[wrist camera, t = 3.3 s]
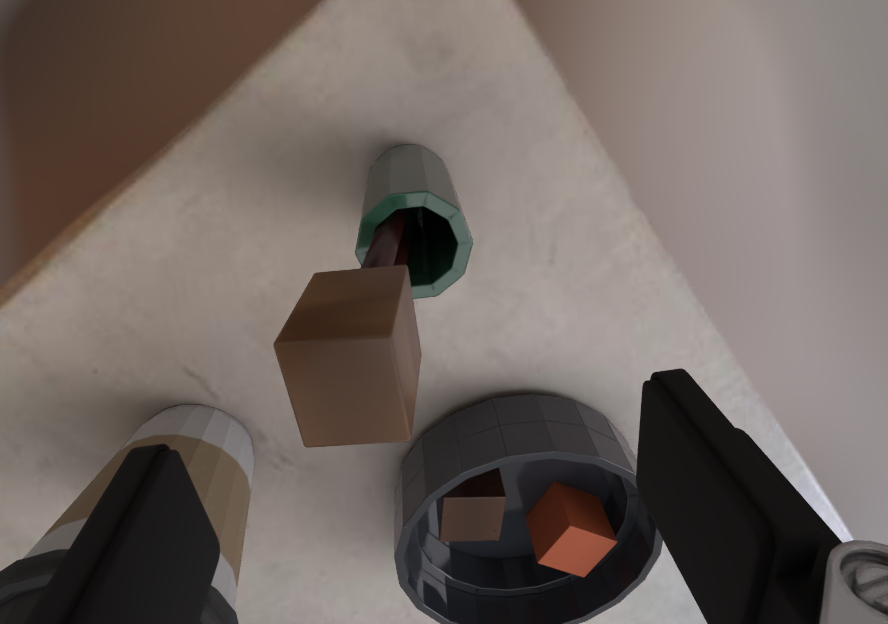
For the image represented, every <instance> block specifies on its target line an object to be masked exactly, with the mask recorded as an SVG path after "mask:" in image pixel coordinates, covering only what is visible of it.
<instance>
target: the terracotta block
mask: <svg viewBox="0 0 888 624" xmlns="http://www.w3.org/2000/svg"><path fill="white" fill-rule="evenodd" d="M526 521H527V525H528V528H529V532H530V536H531V540H532V544H533V547H534V551H535V555H536V559H537V563H539V564H542V565H545V566H549V567H552V568H555V569H558V570H561V571H565V572H568V573H571V574H574V575H577V576H581V577H585V576H586V575H587V574H588V573H589V572H590V571H591V570H592V569H593V568H594V567H595V565H596V564H597V563H598V562H599V561H600V560H601V559H602V558H603V557H604V556H605V555H606V554H607V553H608V552H609V551H610V550H611V549H612V548H613V546H614V545H615V544H616V543H617V539H616V537H615V535H614V532H613V530H612V528H611V525H610V523H609V521H608V518H607V516H606V514H605V511H604V509H603V506H602V504H601V502H600V499H599V497H597V496H594V495H591V494H589V493H586V492H583V491H581V490H578V489H575V488H572V487H570V486H567V485H564V484H562V483H559V482H556V481H554V483H553V484H552V485H551V486H550V487H549V489H548V490H547V491H546V492H545V494H544V495H543V496H542V497H541V498H540V500H539V501H538V502H537V503H536V504H535V506H534V507H533V508H532V509H531V511H530V512H529V513H528V514H527V515H526Z"/></svg>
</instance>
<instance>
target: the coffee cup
mask: <svg viewBox="0 0 888 624" xmlns="http://www.w3.org/2000/svg"><path fill="white" fill-rule="evenodd" d="M156 444H166V445H167V446H169V448H170V449H171V450H177V451H178V452H179V454H180V456H181V458H182V460H183V462H184V465H185V467H186V469H187V471H188V473H189V476H190V478H191V480H192V482H193V484H194V487H195V489H196V491H197V493H198V495H199V498H200V500H201V502H202V504H203V506H204V509H205V511H206V513H207V515H208V517H209V520H210V522H211V524H212V526H213V529H214V531H215V533H216V535H217V537H218V540H219V543H220V558H219V562H218V565H217V568H216V571H215V574H214V577H213V581H212V584H211V587H210V590H209V593H208V596H207V599H206V602H205V605H204V609H203V612H202V615H201V618H200V621H199V624H238V620H237V615H236V612H235V611H234V607H235V600H236V593H237V586H238V579H239V571H240V564H241V557H242V550H243V543H244V536H245V529H246V521H247V514H248V507H249V500H250V493H251V486H252V479H253V471H254V464H255V460H254V454H253V453H254V450H253V445H252V439H251V437H250V436H249V434H248V432H247V431H246V429H245V427H244V426H243V425H242V424H240V423H239V422H238V421H237V420H236V419H235V418H233V417H232V416H231V415H229V414H227V413H224V412H222V411H220V410H218V409H216V408H212V407H207V406H203V405H178V406H175V407H172V408H168V409H165V410H163V411H162V412H160V413H159V414H157V415H156V416H154V417H153V418H152V419H150V420H149V421H147V422H146V423H145V424H143V425H142V426H141V427H140V428H139V429H138V430H137V431H136V432H135V434H134V435H133V436H132V437H131V438H130V439H129V440H128V441H127V443H126V444H125V445H124V446H123V447H122V448H121V449H120V450H119V452H118V453H117V454H116V455H115V456H114V457H113V458H112V459H111V461H110V462H109V463H108V464H107V465H106V466H105V467H104V468H103V470H102V471H101V472H100V473H99V474H98V475H97V476H96V477H95V479H94V480H93V481H92V482H91V483H90V484H89V485H88V486H87V488H86V489H85V490H84V491H83V492H82V493H81V494H80V495H79V497H78V498H77V499H76V500H75V501H74V502H73V503H72V504H71V506H70V507H69V508H68V509H67V510H66V511H65V512H64V513H63V515H62V516H61V517H60V518H59V519H58V520H57V521H56V522H55V524H54V525H53V526H52V527H51V528H50V529H49V530H48V531H47V533H46V534H45V535H44V536H43V537H42V538H41V539H40V540H39V542H38V543H37V544H36V545H35V546H34V547H33V548H32V549H31V551H30V552H29V553H28V554H27V555H26V556H25V557H24V558H23V559H21V560H17V561H16V562H14V563H13V564H11V565H9V566H8V567H6V568H5V569H3V570H2V571H0V624H23V623H24V622H25V620H26V618H27V617H28V615H29V613H30V612H31V610H32V609H33V607H34V605H35V604H36V602H37V600H38V599H39V597H40V596H41V594H42V592H43V591H44V589H45V587H46V586H47V584H48V583H49V581H50V579H51V578H52V576H53V574H54V573H55V571H56V570H57V568H58V566H59V565H60V563H61V561H62V560H63V558H64V556H65V555H66V553H67V552H68V550H69V548H70V547H71V545H72V543H73V542H74V540H75V539H76V537H77V535H78V534H79V532H80V530H81V529H82V527H83V526H84V524H85V522H86V521H87V519H88V517H89V516H90V514H91V513H92V511H93V509H94V508H95V506H96V504H97V503H98V501H99V500H100V498H101V496H102V495H103V493H104V491H105V490H106V488H107V486H108V485H109V483H110V482H111V480H112V478H113V477H114V475H115V473H116V472H117V470H118V469H119V467H120V465H121V464H122V462H123V460H124V459H125V457H126V456H127V454H128V453H129V451H130V450H131V449H133V448H135V447H142V446H149V445H156Z"/></svg>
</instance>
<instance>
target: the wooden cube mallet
mask: <svg viewBox="0 0 888 624" xmlns="http://www.w3.org/2000/svg"><path fill="white" fill-rule="evenodd" d="M418 211H419V207H412V208H402V209H396V210H395V211H394V212H393V213H391V214H390V215H389V216H388V217H387V218H386V219H385V220H383V221H382V222H381V223H380V224H379V225H378V227H377V229H376V232H375V234H374V237H373V239H372V241H371V244H370V246H369V249H368V251H367V254H366V256H365V258H364V261H363V263H362V266H361V268H360V269H352V270H341V271H330V272H318V273H315V274H314V275H313V277H312V278H311V280H310V282H309V283H308V285H307V287H306V289H305V290H304V292H303V294H302V296H301V297H300V299H299V301H298V302H297V304H296V306H295V308H294V309H293V311H292V313H291V315H290V316H289V318H288V320H287V321H286V323H285V325H284V327H283V328H282V330H281V332H280V334H279V335H278V337H277V339H276V340H275V342H274V349H275V352H276V356H277V359H278V362H279V365H280V369H281V372H282V375H283V378H284V382H285V385H286V388H287V391H288V395H289V398H290V401H291V404H292V408H293V411H294V414H295V417H296V421H297V424H298V427H299V430H300V433H301V437H302V440H303V443H304V446H305V447H323V446H339V445H356V444H372V443H388V442H404V441H410V439H411V434H412V426H413V418H414V410H415V402H416V395H417V387H418V379H419V371H420V363H421V356H422V354H421V348H420V341H419V335H418V328H417V322H416V316H415V309H414V303H413V296H412V290H411V284H410V277H409V271H408V267H407V265H406V262H407V258H408V254H409V249H410V245H411V241H412V237H413V232H414V228H415V224H416V220H417V215H418Z"/></svg>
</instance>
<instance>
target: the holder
mask: <svg viewBox="0 0 888 624" xmlns="http://www.w3.org/2000/svg"><path fill="white" fill-rule="evenodd" d="M412 207H419V211H418V215H417V220H416V224H415V228H414V232H413V237H412V241H411V245H410V249H409V254H408V258H407V262H406V265H407V267H408V271H409V277H410V284H411V290H412V296H413V299H416V298H425V297H435V296H438V295H439V294H441V293H442V292H443V291H444V290H446V289H447V288H448V287H449V286H451V285H452V284H453V283H454V282H456V281H457V280H458V279H459V278H461V277H462V276H463V274H464V273H465V270H466V267H467V263H468V259H469V256H470V252H471V249H472V245H473V239H472V236H471V234H470V231H469V228H468V225H467V222H466V219H465V217H464V214H463V211H462V208H461V205H460V202H459V200H458V197H457V194H456V191H455V188H454V185H453V183H452V180H451V178H450V175H449V173H448V170H447V168H446V166H445V163H444V161H443V160H442V159H441V158H439V157H438V156H437V155H436V154H435V153H434V152H432V151H431V150H429V149H427V148H425V147H422V146H419V145H413V144H405V145H399V146H395V147H393V148H390V149H389V150H387V151H385V152H384V153H383V154H381V155H380V156H379V157H378V158H377V160H376V161H375V162H374V164H373V165H372V166H371V168H370V171H369V176H368V182H367V188H366V193H365V199H364V205H363V210H362V216H361V222H360V227H359V233H358V239H357V244H356V250H355V255H356V257H357V259H358V261H359V262H360V264H361V266H362V263H363V261H364V258H365V256H366V254H367V251H368V249H369V246H370V244H371V241H372V239H373V237H374V234H375V232H376V229H377V227H378V225H379V224H380V223H381V222H382V221H383V220H385V219H386V218H387V217H388V216H389V215H390V214H391V213H393V212H394V211H395V210H396V209H402V208H412Z"/></svg>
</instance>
